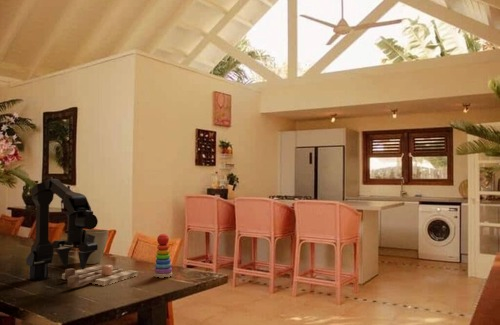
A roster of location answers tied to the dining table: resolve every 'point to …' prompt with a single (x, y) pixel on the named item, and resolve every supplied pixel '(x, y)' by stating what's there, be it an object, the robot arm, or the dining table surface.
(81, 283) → the strip
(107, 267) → the pink egg
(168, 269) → the stacking toy
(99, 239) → the plant pot
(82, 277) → the lane board
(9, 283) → the dining table surface
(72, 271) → the strip
